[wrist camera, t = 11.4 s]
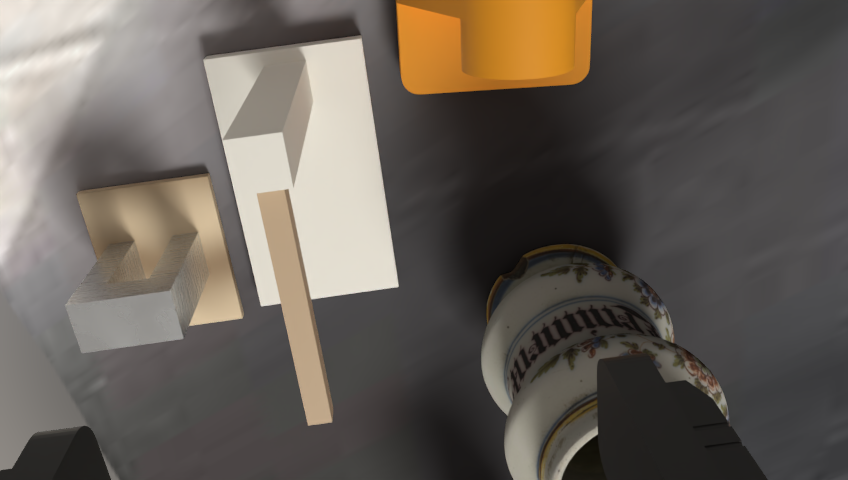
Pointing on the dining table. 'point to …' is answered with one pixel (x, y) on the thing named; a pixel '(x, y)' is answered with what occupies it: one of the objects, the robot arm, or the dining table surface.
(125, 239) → the cork mat
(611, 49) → the dining table surface
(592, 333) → the apothecary jar
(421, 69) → the bracket
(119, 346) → the c link
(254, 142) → the stand
